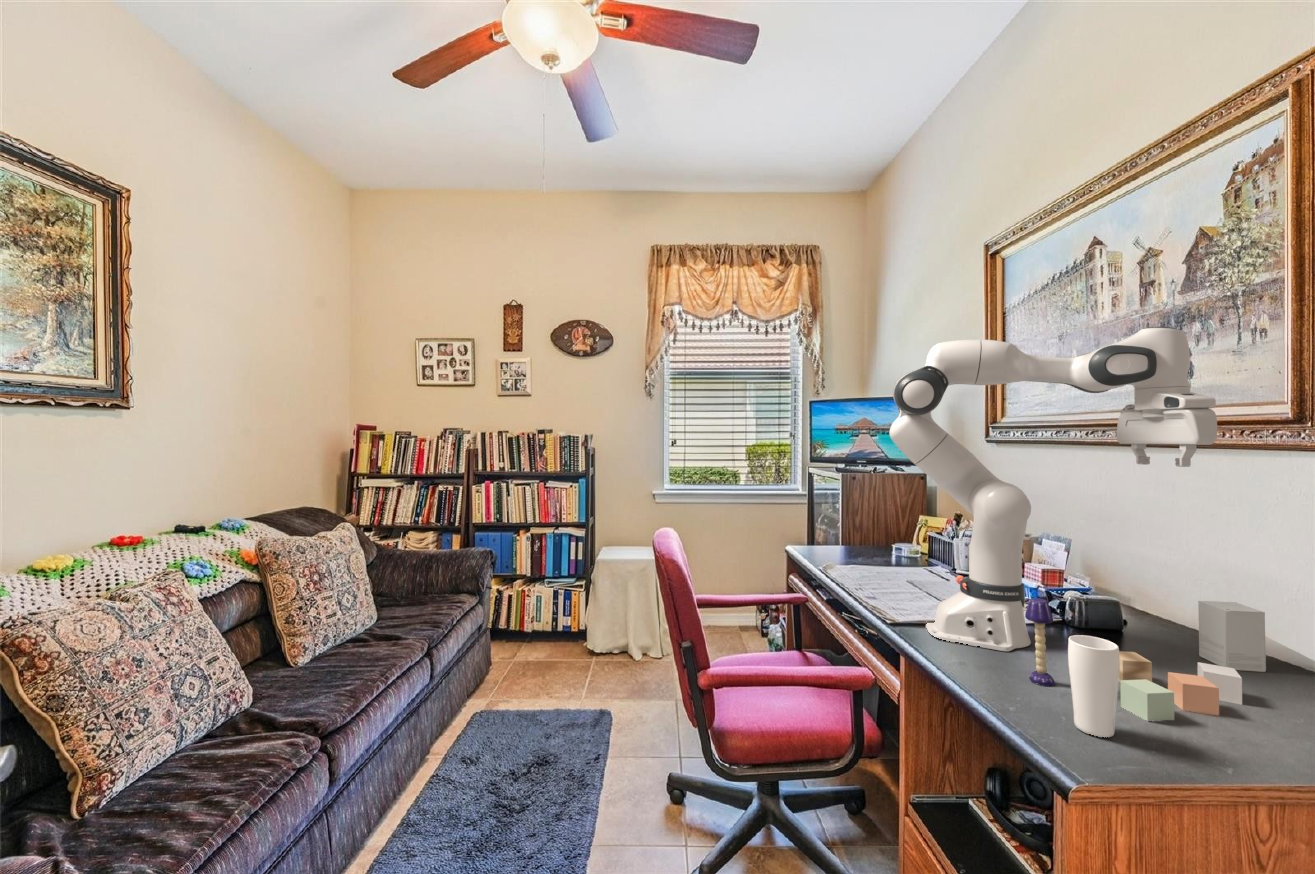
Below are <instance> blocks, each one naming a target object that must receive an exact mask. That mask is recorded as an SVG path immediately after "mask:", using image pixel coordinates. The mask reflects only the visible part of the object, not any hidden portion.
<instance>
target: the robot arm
mask: <svg viewBox="0 0 1315 874" xmlns="http://www.w3.org/2000/svg"><path fill="white" fill-rule="evenodd" d="M1190 368H1191V354H1190V346H1189V340H1188V337H1187V334H1186V333H1185V332H1184V331H1183V330H1181V329H1179V328H1176V327H1171V326H1170V327H1169V326H1155V327H1151V326H1150V327H1146V328H1145V327H1144V328H1142V329H1139V330H1138V331H1137V332H1135V333H1134V334H1132V335H1130V336H1128V337H1126V338H1124V339H1122V340H1120V341H1117V342H1114V343H1111V344H1109V345H1108V344H1107V345H1106V346H1103V347H1100V348H1097V349H1096V350H1093V351H1091V352H1090V351H1089V352H1087V353H1084V354H1081V355H1077V356H1073V357H1061V356H1060V357H1059V356H1058V357H1057V356H1042V355H1041V356H1039V355H1031V354H1027V353H1025V352H1023V351H1022V350H1021V349H1019V348H1018V347H1017V346H1016V345H1015V344H1014V343H1012V342H1011V343H1010V342H1007V341H1000V340H994V339H959V340H956V339H955V340H948V341H942V342H938V343H936V344H934V345H933V346H932V347H931V348H930V349H929V351H928V353H927V356H926V360H925V365H924V366H923V367H920V368H918V369H916V370H911V371H908V372H906V373H904V374H902V375H901V376H900V377H898V378H897V380H896V382H895V383H894V386H893V388H892V397H893V401H894V403H895V405H896V406H897V410H898V412H899V415H898V416H897V418H895V420H894V421H893V422H892V423H891V426H890V428H889V437H890V439H891V441H892V442H893V443H894V445H895V446H896V447H897V449H899V451H900V452H901V453H902V454H903V455H904V456H905V457H906V458H908V460H909V461H910V462H911V463H913V464H914V465H915V466H916V467H917V468H918V469H919V470H921V471H922V472H923V473H925V475H927V476H928V477H929V478H930V479H931V480H932V481H933V482H935V483H936V484H937V485H938V486H939V487H941V488H942V490H944V491H945V493H947V495H949V496H950V497H951V498H952V499H954V501H955V502H957V503H958V504H959V506H961V507H962V508H963V509H964V510H966V512H968V513H969V514H970V516H971V515H972V516H973V522H972V523H973V524H972V531H971V532H972V533H971V539H970V543H969V545H968V576H967V577H964V576H963V575H957V576H955V581H956V582H957V584H958V585H959V589H960V590H959V591H958V592H957V593H955V594H953V595H951V596H950V597H949V596H948V597H947V598H945V599H944V600H942V601H941V602H939V604H938V605H937V608H936V611H935V616H934V618H935V622H934V623H927V624H926V623H925V629H926V628H927V630H928V632H929V633H930V634H931V635H933V636H934V637H937V638H939V639H942V640H941V641H943V640H946V641H945V642H949V641H950V642H949V643H955V642H959V643H958V644H960V643H963V644H962V645H966V644H968V645H967V646H973V647H977V646H980V647H979V648H984V649H989V650H990V649H991V650H994V651H995V650H996V651H1000V652H1001V651H1002V652H1010V651H1013V650H1015V649H1022V648H1026V647H1028V646H1030V645H1031V643H1032V641H1031V639H1030V636H1029V633H1028V629H1027V625H1026V620H1025V619H1026V617H1025V613H1024V607H1025V603H1026V589H1025V584H1024V583H1023V578H1022V577H1023V571H1022V570H1023V569H1022V568H1023V565H1022V564H1023V561H1022V559H1023V545H1024V541H1025V536H1026V531H1027V525H1028V520H1029V518H1030V515H1031V512H1032V505H1031V502H1030V500H1029V498H1028V497H1027V494H1025V492H1024V491H1023V490H1022V489H1021V488H1020V487H1018V486H1016V485H1014V484H1012V483H1008V482H1005V481H1003V480H1001V479H999V477H997V476H996V475H995V474H994V473H992V472H991V471H990V470H989V469H988V468H987V467H986V466H985V465H984V464H983V463H982V462H981V461H980V460H979V459H978V458H977V457H976V455H975V454H974V453H972V452H971V451H970V450H969V449H968V448H966V446H964V445H963V444H961V443H960V442H959V441H958V440H957V439H956V438H955V437H953V436H952V435H951V434H949V433H948V432H947V431H946V430H945V429H943V428H942V427H941V426H940V425H939V424H937V423H936V421H934V419H933V417H932V412H933V411H934V410H935V409H936V408H937V407H938V406H939V405H940V403H941V402H942V399H943V397H944V395H945V393H946V390H947V388H948V386H953V385H954V386H955V385H969V386H970V385H971V386H972V385H973V386H998V385H1006V384H1011V383H1012V384H1013V383H1019V382H1033V383H1034V382H1035V383H1036V382H1037V383H1050V384H1051V383H1052V384H1063V385H1068V386H1070V387H1072V388H1075V389H1077V390H1079V391H1082V392H1084V393H1089V394H1100V393H1105V392H1108V391H1110V390H1115V389H1117V388H1122V387H1125V386H1129V385H1130V386H1133V387H1134V391H1133V393H1134V397H1133V398H1134V399H1133V400H1134V404H1126V405H1125V406H1124V407H1123V408H1122V409H1121V410H1120V414H1119V416H1118V420H1117V425H1116V435H1115V436H1116V437H1115V438H1116V441H1117V442H1118V444H1121V445H1122V444H1123V445H1131V451H1132V452H1133V454H1134V455H1135V457H1136V458H1135V461H1136V464H1137V465H1150V464H1151V461H1150V460H1151V456H1147V452H1146V449H1147V445H1179V450H1180V451H1181V453H1180V455H1179V457H1175V460H1174V461H1175V466H1176V467H1180V468H1181V467H1182V468H1190V467H1191V464H1192V463H1191V459H1192V458H1193V456H1194V455H1195V453H1196V452H1197V445H1198V446H1199V445H1201V446H1202V445H1203V446H1204V445H1205V446H1206V445H1207V446H1209V445H1211V446H1212V445H1213V444H1214V443H1215V442H1216V440H1217V438H1218V418H1217V414H1216V412H1215V411H1214V410H1213V408H1215V407H1216V404H1217V401H1216V398H1215V397H1213V396H1208V395H1204V394H1200V393H1195V392H1191V383H1190V381H1189V377H1188V375H1189V371H1190ZM927 630H926V631H927ZM928 632H927V633H928ZM929 633H928V634H929ZM930 634H929V635H930ZM931 635H930V636H931ZM934 637H933V638H934Z"/></svg>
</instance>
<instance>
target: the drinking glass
mask: <svg viewBox="0 0 1315 874" xmlns="http://www.w3.org/2000/svg"><path fill="white" fill-rule="evenodd" d="M1067 640H1068V641H1067V642H1068V643H1067V665H1068V673H1069V674H1068V675H1069V680H1070V681H1069V682H1070V691H1071V698H1072V700H1071V701H1072V709H1073V711H1072V712H1073V724H1074V726H1075V727H1076V728H1077V729H1078V730H1080V731H1081V732H1083V733H1084V734H1086V735H1089V734H1091V735H1090V736H1092V735H1094V736H1093V737H1096V736H1098V738H1102V737H1104V738H1105V737H1106V738H1107V737H1108V738H1111V737H1113V736H1114V735H1115V731H1116V727H1115V725H1116V723H1115V721H1116V711H1117V702H1118V694H1119V693H1118V692H1119V683H1120V682H1119V672H1120V658H1119V651H1120V648H1119V645H1117V644H1116V643H1114V642H1112V641H1110V640H1109V639H1104V638H1102V637H1101V638H1100V637H1097V636H1092V635H1083V634H1081V635H1080V634H1075V635H1070V636H1069V637H1068V639H1067ZM1104 738H1103V739H1104ZM1108 738H1107V739H1108Z"/></svg>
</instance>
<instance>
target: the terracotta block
mask: <svg viewBox="0 0 1315 874" xmlns="http://www.w3.org/2000/svg"><path fill="white" fill-rule="evenodd" d="M1167 689H1168V690H1170V691H1172V692H1174V705H1176V706H1177V707H1178V708H1179V709H1180V710H1181V709H1182V711H1183V712H1189V711H1191V713H1196V714H1197V713H1198V714H1204V715H1212V716H1218V717H1219V716H1220V700H1219V688H1218V687H1217V686H1215V685H1214V684H1212V683H1211V682H1210V681H1208V680H1207V679H1205V678H1204V677H1203V676H1198V674H1197V675H1196V674H1188V673H1179V672H1170V671H1168V672H1167Z"/></svg>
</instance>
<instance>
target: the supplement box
mask: <svg viewBox="0 0 1315 874" xmlns="http://www.w3.org/2000/svg"><path fill="white" fill-rule="evenodd" d="M1197 603H1198V648H1199V649H1198V650H1199V651H1198V655H1199V657H1201V658H1203V659H1205V660H1207V661H1209V662H1210V663H1213V664H1214V665H1217V666H1223V667H1229V668H1234V669H1235V670H1236V671H1242V672H1243V671H1245V672H1259V673H1266V671H1267V666H1266V665H1267V664H1266V662H1267V655H1266V653H1267V652H1266V648H1267V647H1266V615H1265V614H1266V613H1265V611H1262V610H1259V609H1257V608H1253V607H1250V606H1247V605H1244V604H1241V603H1238V602H1234V601H1213V600H1212V601H1211V600H1210V601H1209V600H1208V601H1207V600H1202V601H1201V600H1198V602H1197Z"/></svg>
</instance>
